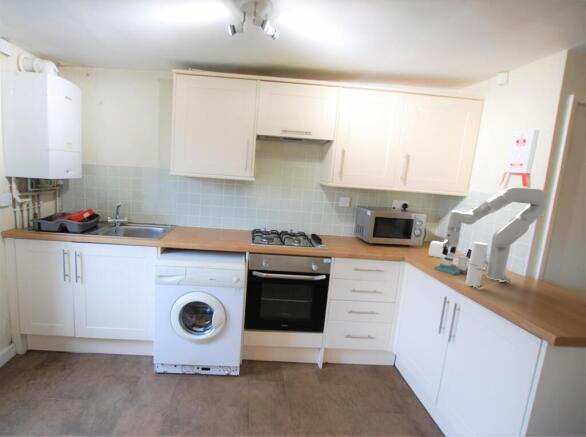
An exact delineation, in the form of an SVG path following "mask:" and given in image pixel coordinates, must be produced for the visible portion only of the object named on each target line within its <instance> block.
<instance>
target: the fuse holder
mask: <svg viewBox="0 0 586 437" xmlns="http://www.w3.org/2000/svg"><path fill="white" fill-rule="evenodd" d="M439 265H444V262H442V263H439ZM452 265H453V266H448V265H445V266H448V267H452V268H455V269H457V268H458V266H457V265H455V264H452ZM458 270H460V273H459V274H461V273H462V275H467V274H466V273H467V272H468V268H466V270H461V269H458Z"/></svg>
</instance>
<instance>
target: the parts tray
mask: <svg viewBox="0 0 586 437" xmlns="http://www.w3.org/2000/svg"><path fill="white" fill-rule="evenodd" d="M434 270H436V271H439V272H442V273H446V274H449V275H451V276H455V275H459V274H461V273H460V270H458V269H455V268H452V267H448V266H445V265H440V264H438V265H434Z"/></svg>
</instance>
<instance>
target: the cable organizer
mask: <svg viewBox="0 0 586 437" xmlns="http://www.w3.org/2000/svg"><path fill="white" fill-rule="evenodd" d="M443 242H444V241H437V240H432V241H431V242H430V244H429V249H428V256H429V255H430V257H431V256H434V257H433V258H438V257H439V258H438V259H442V258H445V255H444V254H442V252H443ZM450 250H451V247H450V246H449V248H448V252H450Z"/></svg>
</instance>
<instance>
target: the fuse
mask: <svg viewBox="0 0 586 437" xmlns="http://www.w3.org/2000/svg"><path fill="white" fill-rule="evenodd" d="M469 259H470V256H465V255H459V256H458V264H457V267H458V268H457V269H461V270H466V269H467V264H468V260H469Z"/></svg>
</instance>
